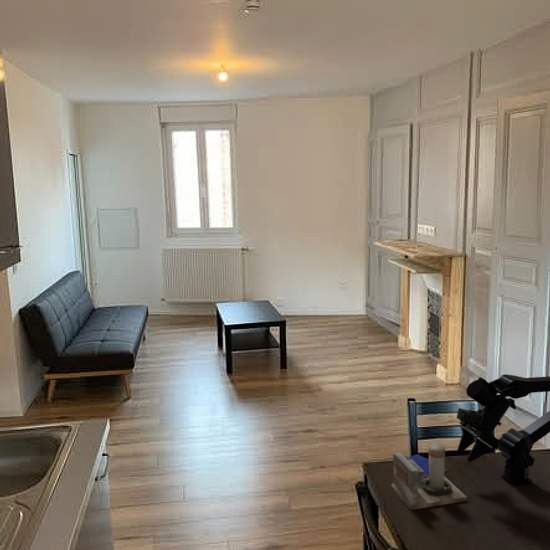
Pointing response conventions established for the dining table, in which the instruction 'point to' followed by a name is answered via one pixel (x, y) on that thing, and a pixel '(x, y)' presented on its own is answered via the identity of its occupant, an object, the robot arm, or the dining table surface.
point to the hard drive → (422, 463)
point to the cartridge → (436, 467)
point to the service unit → (420, 486)
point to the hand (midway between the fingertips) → (463, 456)
